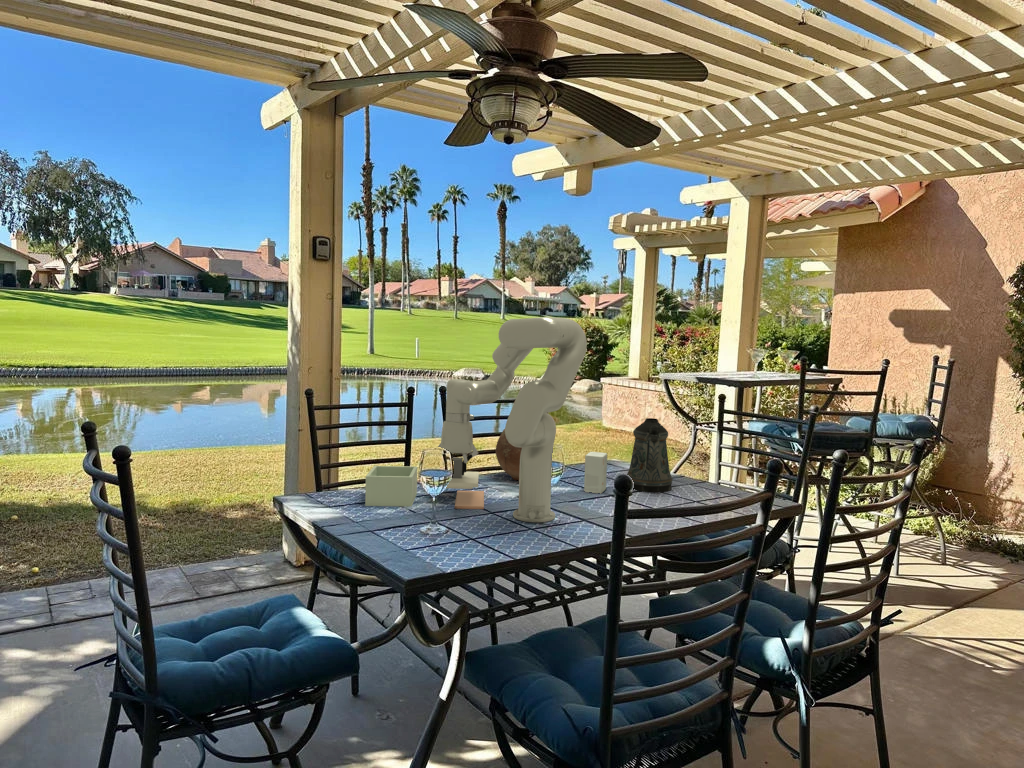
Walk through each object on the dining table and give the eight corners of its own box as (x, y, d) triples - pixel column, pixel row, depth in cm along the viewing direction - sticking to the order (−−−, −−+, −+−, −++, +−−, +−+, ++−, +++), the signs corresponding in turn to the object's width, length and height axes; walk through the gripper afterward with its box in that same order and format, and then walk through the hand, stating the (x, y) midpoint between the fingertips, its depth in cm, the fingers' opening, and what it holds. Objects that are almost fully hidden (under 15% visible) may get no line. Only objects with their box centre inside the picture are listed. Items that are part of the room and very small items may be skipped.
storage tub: (411, 509, 207) (412, 477, 206) (365, 508, 207) (365, 476, 206) (416, 496, 223) (417, 466, 222) (373, 495, 222) (374, 465, 222)
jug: (484, 475, 257) (486, 396, 255) (529, 470, 270) (531, 395, 267) (517, 487, 239) (520, 403, 237) (564, 481, 252) (567, 400, 250)
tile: (483, 509, 210) (483, 506, 210) (425, 508, 209) (425, 505, 209) (483, 493, 230) (483, 490, 230) (430, 492, 229) (430, 490, 229)
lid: (477, 490, 212) (478, 464, 211) (430, 489, 211) (431, 463, 210) (478, 478, 228) (479, 454, 227) (434, 477, 227) (435, 452, 227)
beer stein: (654, 481, 257) (657, 415, 254) (686, 493, 239) (690, 422, 237) (616, 483, 250) (619, 416, 248) (646, 496, 232) (649, 423, 230)
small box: (588, 487, 243) (590, 451, 242) (606, 489, 241) (607, 452, 240) (583, 492, 236) (584, 455, 235) (601, 494, 234) (602, 456, 233)
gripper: (483, 417, 222) (481, 472, 223) (432, 415, 221) (430, 470, 222) (483, 420, 214) (481, 477, 216) (430, 418, 213) (428, 476, 215)
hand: (455, 473), depth 219 cm, fingers closed on lid, 4 cm apart
